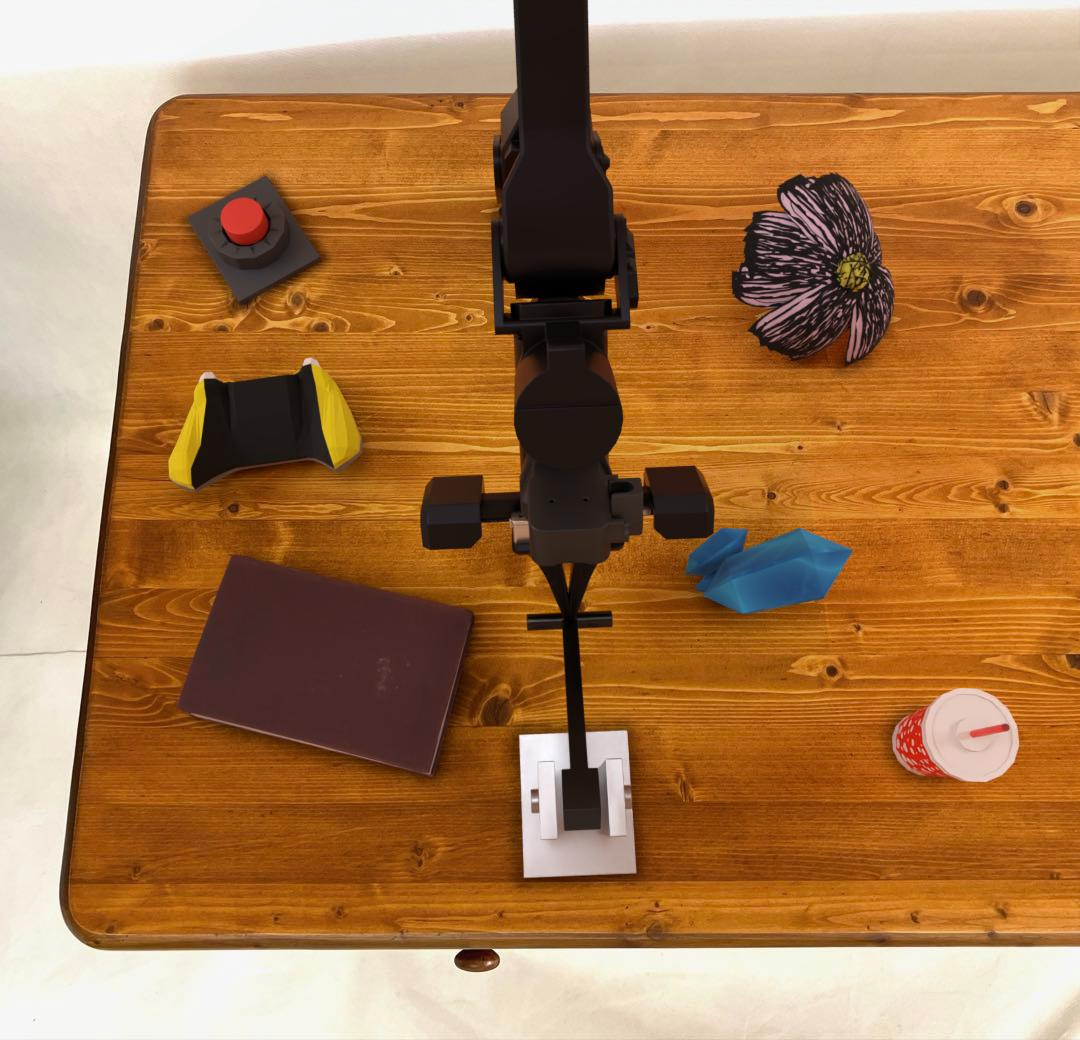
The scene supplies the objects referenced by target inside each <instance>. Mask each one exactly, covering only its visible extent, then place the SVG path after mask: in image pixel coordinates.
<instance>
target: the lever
mask: <svg viewBox="0 0 1080 1040" xmlns="http://www.w3.org/2000/svg"><path fill="white" fill-rule="evenodd" d="M613 626H614V618H613V611H612V610H611V609H607V610H586V611H585V610H584V611H582V610H581V611H578V613H577V615H576V618H573V619H570V618H569V619H564V618H563V616H562V613H561V611H560V612H559V611H558V612H537V613H536V612H534V613H526V631H528V632H537V631H559V630H561V631H562V632H561V635H562V636H561V637H562V652H563V653H562V654H563V669H564V672H563V673H564V687H565V689H564V690H565V705H566V722H567V723H566V724H567V733H568V742H569V760H570V769H562V770H561V772H562V798H563V819H564V831H577V830H600V829H601V800H600V787H599V775H598V768H588V757H587V743H586V732H587V731H586V715H585V703H584V702H585V701H584V690H583V677H582V661H581V650H580V649H581V647H580V636H579V630H581V629H603V628H604V629H605V628H606V629H607V628H613Z"/></svg>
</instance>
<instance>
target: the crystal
mask: <svg viewBox="0 0 1080 1040" xmlns="http://www.w3.org/2000/svg"><path fill="white" fill-rule="evenodd" d="M748 532H749V529H748V528H747V529H746V528H735V527H734V528H732V527H720V528H719V529H718V530H717V531H716V532H714V534H712V535H711V536H709V537H708V538H706V540H705V541H704V542H703V543H701V544H700V545H699V546H698V547H696V548H695V549H694V550H693V551H692V552H690V554H689V556H688V560H687V564H686V568H685V572H684V575H691V576H699V577H702V579H701V580H700V581H699V582H698V583H697V585H696V586H695V587H694V589H695V590H697V591H699V592H702V593H703V594H702V596H703V597H704V598H706V599H708V600H711V601H713V602H715V603H718V604H720V605H721V606H724V607H725V608H728V609H730V610H732V611H734V612H736V613H738V614H740V615H743V616H744V615H750V614H755V613H760V612H764V611H770V610H774V609H779V608H783V607H789V606H794V605H799V604H804V603H808V602H812V601H813V602H814V601H818V600H823V599H825V598H826V596H827V594H828V593H829V591H830V590H831V588H832V586H833V584H834V583H835V581H836V579H837V578H838V577H839V575H840V573H841V571H842V570H843V568H844V566H845V565H846V563H847V561H848V560H849V558H850V556H851V555H852V553H853V552H854V550H853V549H852V548H849V547H847V546H845V545H842V544H839V543H837V542H835V541H833V540H830V539H827V538H825V537H822V536H821V535H818V534H816V533H813V532H810V531H808V530H806V529H803V528H801V527H798V528H795V529H793V530H790V531H788V532H785V533H783V534H780V535H778V536H776V537H773V538H771V539H768V540H765V541H764V542H760V543H758V544H756V545H754V546H750V547H748V548H746V549H744V547H745V543H746V539H747V536H748Z"/></svg>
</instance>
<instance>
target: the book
mask: <svg viewBox="0 0 1080 1040" xmlns="http://www.w3.org/2000/svg"><path fill="white" fill-rule="evenodd" d="M475 619H476V617H475V613H474V611H473V610H471V609H468V608H465V607H461V606H457V605H451V604H447V603H442V602H439V601H434V600H430V599H427V598H422V597H417V596H412V595H408V594H402V593H398V592H393V591H390V590H386V589H381V588H377V587H373V586H370V585H369V586H368V585H364V584H360V583H356V582H352V581H348V580H344V579H341V578H340V579H339V578H335V577H330V576H328V575H327V576H326V575H322V574H318V573H314V572H310V571H306V570H302V569H297V568H294V567H290V566H285V565H283V564H282V565H281V564H278V563H273V562H269V561H265V560H261V559H257V558H253V557H249V556H245V555H241V554H235V553H234V554H232V555H230V558H229V561H228V563H227V566H226V569H225V571H224V574H223V575H222V579H221V581H220V583H219V587H218V589H217V592H216V594H215V597H214V600H213V602H212V604H211V608H210V611H209V613H208V615H207V619H206V621H205V625H204V626H203V630H202V632H201V636H200V637H199V641H198V643H197V646H196V649H195V651H194V654H193V657H192V660H191V662H190V665H189V668H188V671H187V674H186V677H185V680H184V683H183V686H182V689H181V691H180V694H179V697H178V701H177V704H176V706H175V707H176V709H178V710H180V711H181V712H184V713H187V714H188V715H189V716H190V717H193V718H197V719H200V720H202V721H207V722H211V723H215V724H220V725H225V726H229V727H232V728H236V729H241V730H245V731H248V732H253V733H257V734H260V735H264V736H269V737H273V738H277V739H281V740H285V741H289V742H293V743H297V744H302V745H306V746H310V747H314V748H318V749H321V750H325V751H329V752H334V753H338V754H341V755H346V756H350V757H354V758H357V759H362V760H365V761H368V762H373V763H378V764H380V765H381V764H382V765H385V766H389V767H393V768H396V769H400V770H404V771H407V772H411V773H416V774H419V775H422V776H426V777H431V778H434V775H435V772H436V769H437V766H438V762H439V760H440V756H441V752H442V749H443V743H444V740H445V736H446V733H447V729H448V725H449V721H450V717H451V714H452V710H453V707H454V701H455V698H456V694H457V691H458V687H459V684H460V679H461V676H462V672H463V670H464V669H463V668H464V666H465V665H464V664H465V660H466V656H467V652H468V648H469V644H470V640H471V635H472V631H473V627H474V624H475Z"/></svg>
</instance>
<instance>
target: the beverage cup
mask: <svg viewBox="0 0 1080 1040" xmlns="http://www.w3.org/2000/svg"><path fill="white" fill-rule="evenodd" d="M891 743H892V751H893V753H894V755H895V757H896V759H897V761H898V763H900V764H901V765H902V766H903V768H905V770H907V771H909V772H911V773H913V774H915V775H918V776H924V777H925V776H926V777H942V778H943V777H945V778H954V779H955V780H956V779H957V780H959V781H961V782H968V783H969V782H970V783H971V782H972V783H973V782H974V783H975V782H976V783H987V782H989V781H992V780H994V779H996V778H1000V777H1001V776H1003V775H1004V774H1005V773H1006V772H1007V771H1008V770H1009V768H1010V767H1011V766H1012V765H1013V764H1014V763H1015V761H1016V757H1017V754H1018V750H1019V747H1020V739H1019V730H1018V725H1017V723H1016V722H1015V719H1014V717H1013V716H1012V713H1011V711H1010V710H1009V708H1008V707H1007V706H1006V705H1005V704H1003V703H1002V702H1001V700H999V699H998V698H997V697H996V696H995V695H993V694H992V693H991V694H990V693H988V692H986V691H983V690H982V689H979V688H972V687H971V688H969V687H967V688H966V687H957V688H955V689H953V690H950V691H947V692H945V693H942V694H940V695H938V696H937V697H936V698H935V699H934V700H933V702H931V703H930V704H928V705H926V706H923V708H920V709H919V710H917V711H914V712H912V713H910V714H909V715H906V716H904V717H903V718H902V719H901V720H900V721H899V722H898V723H897V724H896V725H895V727H894V730H893V733H892V736H891Z"/></svg>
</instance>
